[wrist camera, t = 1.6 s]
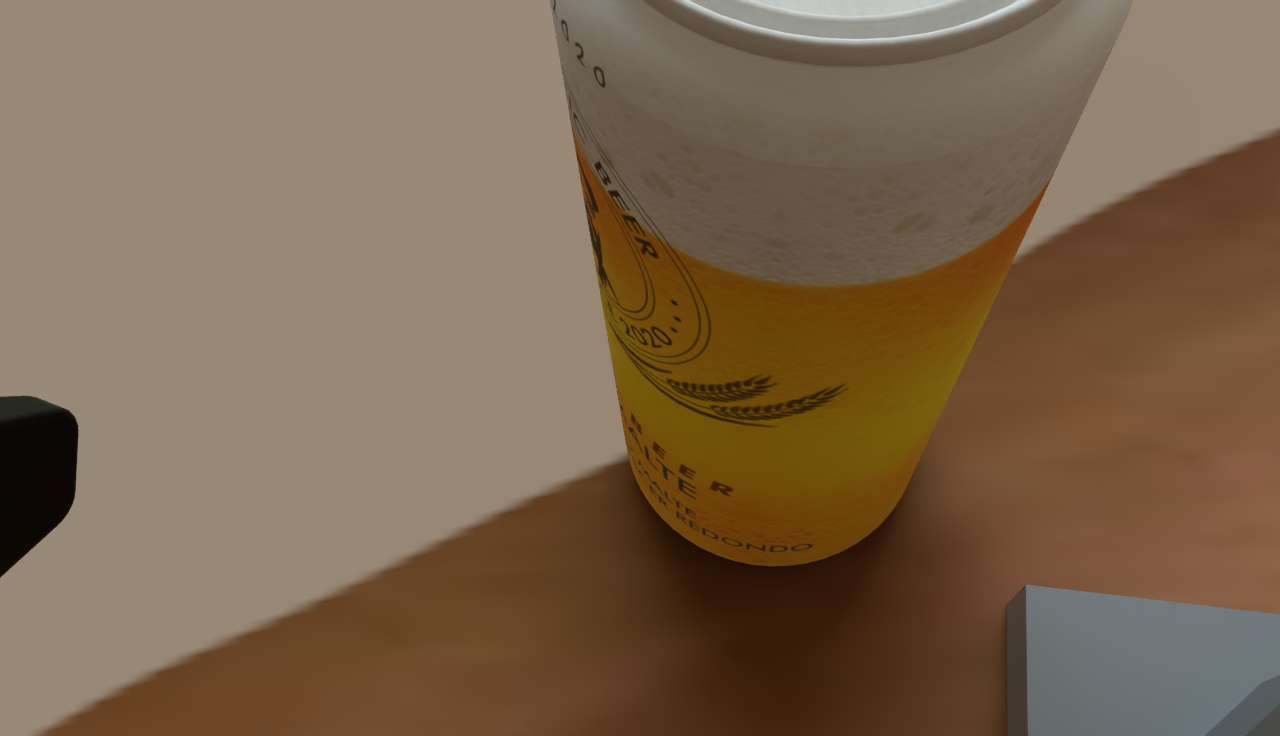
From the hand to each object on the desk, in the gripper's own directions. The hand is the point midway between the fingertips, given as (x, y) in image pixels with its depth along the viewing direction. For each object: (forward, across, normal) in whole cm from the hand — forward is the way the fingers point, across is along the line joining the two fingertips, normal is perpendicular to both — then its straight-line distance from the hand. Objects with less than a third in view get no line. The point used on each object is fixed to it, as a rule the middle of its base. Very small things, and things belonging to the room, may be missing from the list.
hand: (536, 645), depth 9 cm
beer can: (+15, 0, +4) cm, 16 cm away
